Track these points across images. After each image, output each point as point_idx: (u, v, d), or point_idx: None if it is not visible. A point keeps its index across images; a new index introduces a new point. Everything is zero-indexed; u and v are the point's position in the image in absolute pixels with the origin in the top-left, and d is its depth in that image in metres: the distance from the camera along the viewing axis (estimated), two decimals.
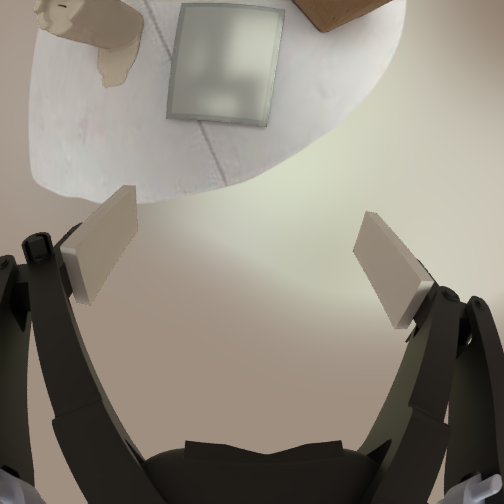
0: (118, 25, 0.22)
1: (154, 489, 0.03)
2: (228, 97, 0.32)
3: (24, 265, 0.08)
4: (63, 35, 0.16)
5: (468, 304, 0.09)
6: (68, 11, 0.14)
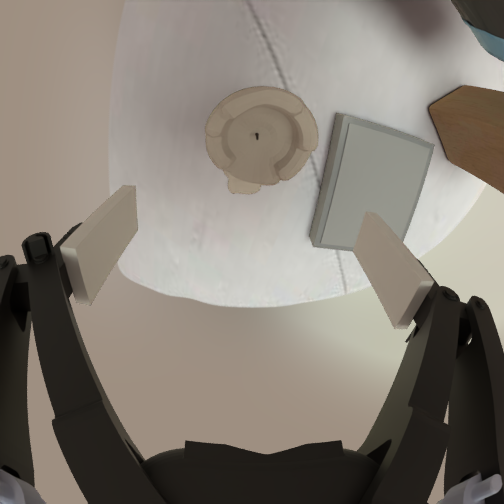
0: None
1: (154, 489, 0.03)
2: None
3: (24, 265, 0.08)
4: None
5: (468, 304, 0.09)
6: (265, 147, 0.18)
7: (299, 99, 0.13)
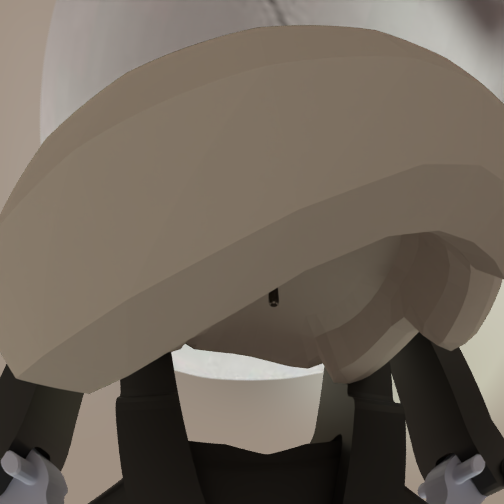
0: None
1: (200, 490, 0.03)
2: None
3: None
4: None
5: None
6: (294, 288, 0.06)
7: None
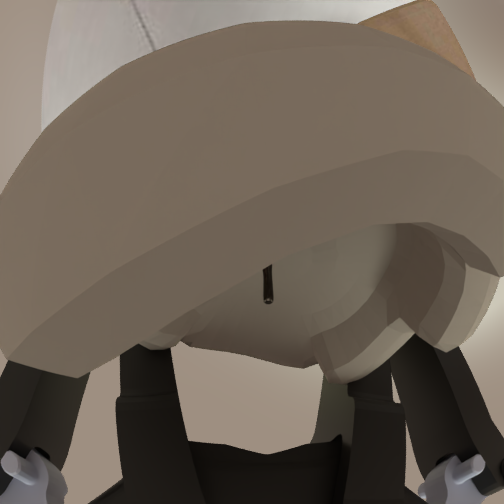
0: None
1: (200, 490, 0.03)
2: None
3: None
4: None
5: None
6: (290, 287, 0.06)
7: None
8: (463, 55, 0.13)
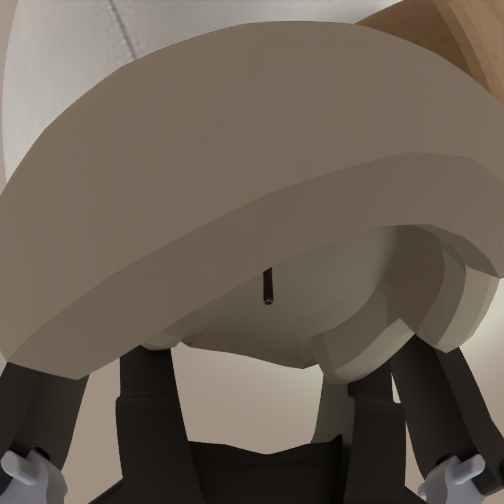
0: None
1: (200, 490, 0.03)
2: None
3: None
4: None
5: None
6: (290, 287, 0.06)
7: None
8: None
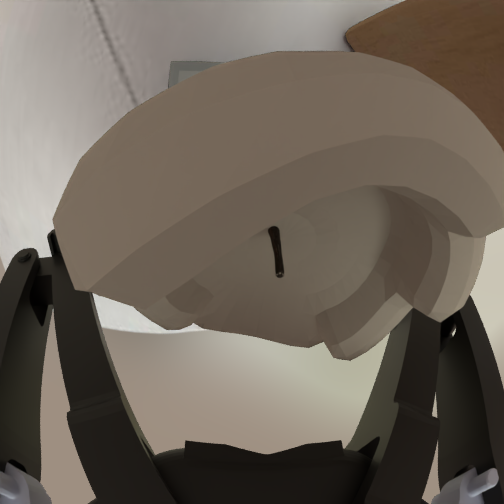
0: None
1: (165, 488, 0.03)
2: None
3: (47, 258, 0.08)
4: None
5: None
6: (296, 268, 0.06)
7: None
8: None
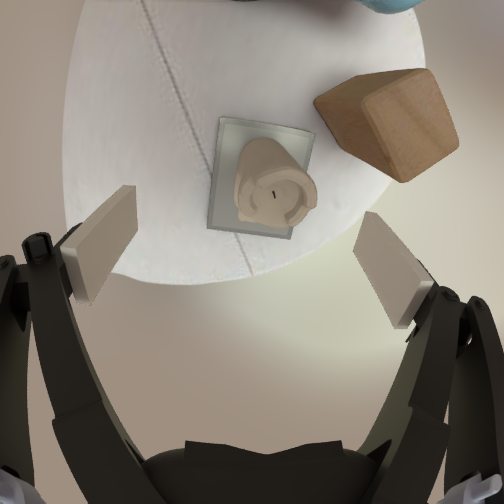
0: None
1: (154, 489, 0.03)
2: None
3: (24, 265, 0.08)
4: None
5: (468, 304, 0.09)
6: (278, 201, 0.26)
7: (307, 176, 0.22)
8: (450, 119, 0.21)
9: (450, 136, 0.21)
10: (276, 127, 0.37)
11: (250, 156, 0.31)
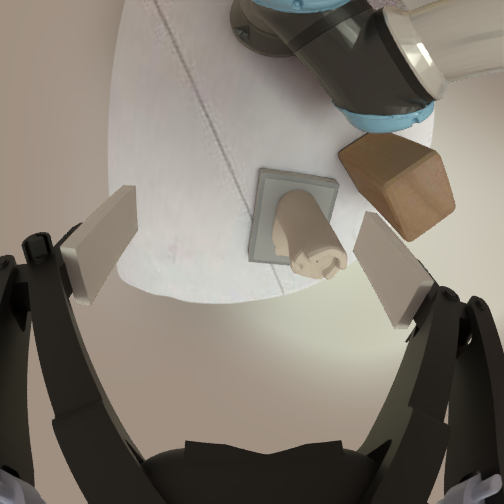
0: None
1: (154, 489, 0.03)
2: None
3: (24, 265, 0.08)
4: None
5: (468, 304, 0.09)
6: (318, 261, 0.35)
7: (342, 251, 0.31)
8: (450, 191, 0.29)
9: (448, 204, 0.30)
10: (308, 180, 0.46)
11: (292, 217, 0.40)
